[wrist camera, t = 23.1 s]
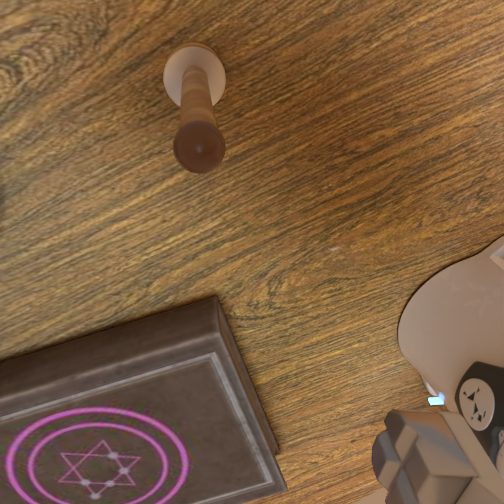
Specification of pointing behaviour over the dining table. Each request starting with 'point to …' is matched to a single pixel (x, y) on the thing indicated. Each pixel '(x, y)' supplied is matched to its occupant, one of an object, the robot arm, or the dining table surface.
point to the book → (137, 418)
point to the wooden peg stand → (196, 105)
